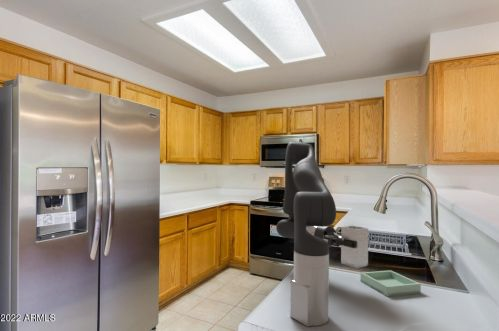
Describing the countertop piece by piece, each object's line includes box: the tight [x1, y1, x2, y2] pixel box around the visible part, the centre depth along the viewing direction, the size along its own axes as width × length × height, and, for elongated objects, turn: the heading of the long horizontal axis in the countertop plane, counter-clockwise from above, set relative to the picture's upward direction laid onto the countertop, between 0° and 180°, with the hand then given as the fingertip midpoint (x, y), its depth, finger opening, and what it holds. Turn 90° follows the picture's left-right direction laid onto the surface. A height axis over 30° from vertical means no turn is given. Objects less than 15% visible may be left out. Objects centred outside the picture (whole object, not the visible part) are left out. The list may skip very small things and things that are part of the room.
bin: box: [360, 269, 422, 297], centre depth 94 cm, size 13×13×3 cm
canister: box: [340, 225, 369, 269], centre depth 91 cm, size 6×6×12 cm
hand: (361, 243), depth 89 cm, fingers closed on canister, 6 cm apart
